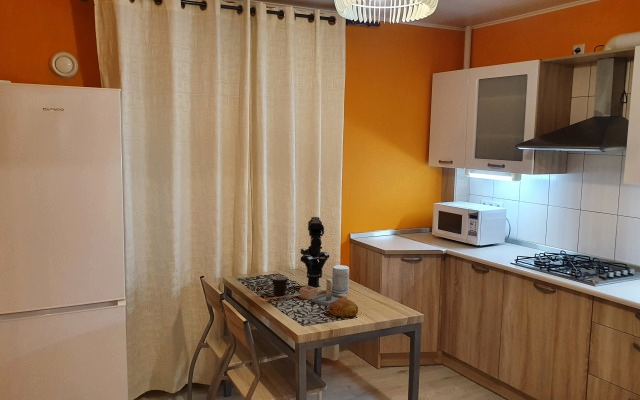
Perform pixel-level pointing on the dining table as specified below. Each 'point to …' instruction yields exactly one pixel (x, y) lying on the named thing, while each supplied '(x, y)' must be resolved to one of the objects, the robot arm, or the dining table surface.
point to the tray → (323, 301)
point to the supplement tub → (340, 279)
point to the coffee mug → (279, 285)
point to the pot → (308, 292)
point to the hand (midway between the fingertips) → (314, 272)
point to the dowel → (329, 290)
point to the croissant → (343, 308)
